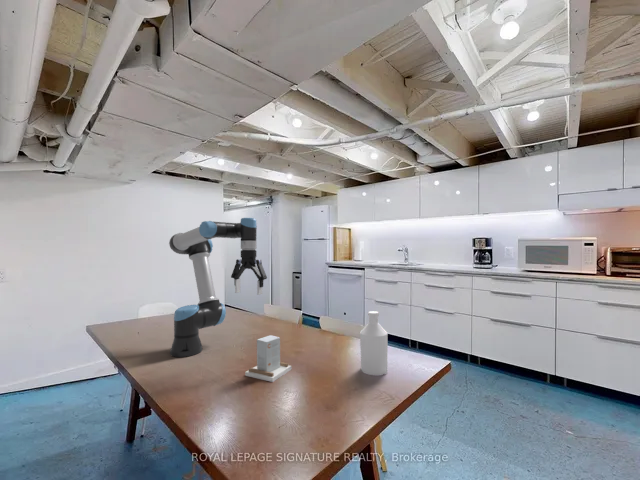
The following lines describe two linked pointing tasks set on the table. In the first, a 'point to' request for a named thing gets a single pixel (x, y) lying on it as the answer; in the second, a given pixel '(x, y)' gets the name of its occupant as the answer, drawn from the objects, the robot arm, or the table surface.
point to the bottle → (373, 346)
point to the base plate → (269, 375)
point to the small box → (268, 353)
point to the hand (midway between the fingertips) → (248, 293)
